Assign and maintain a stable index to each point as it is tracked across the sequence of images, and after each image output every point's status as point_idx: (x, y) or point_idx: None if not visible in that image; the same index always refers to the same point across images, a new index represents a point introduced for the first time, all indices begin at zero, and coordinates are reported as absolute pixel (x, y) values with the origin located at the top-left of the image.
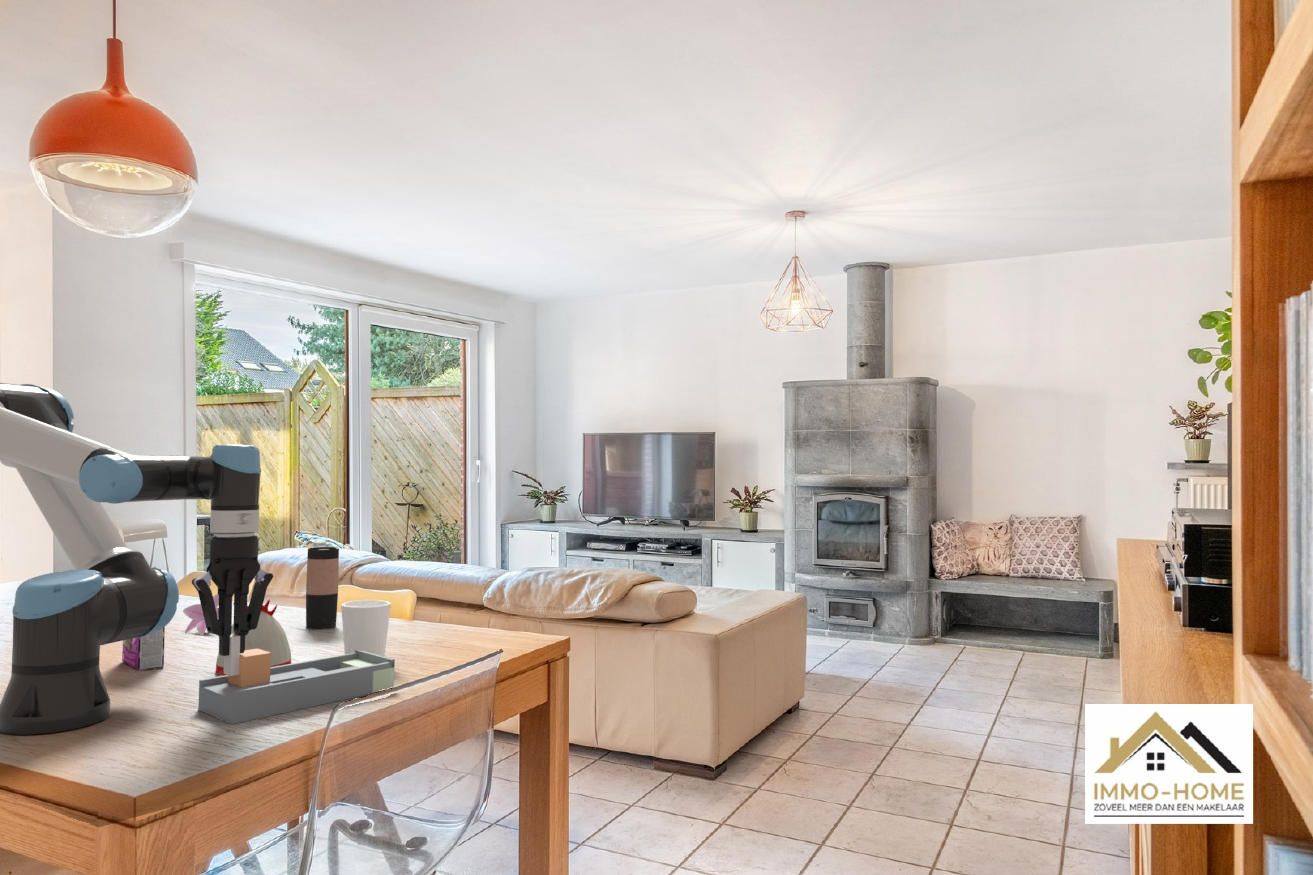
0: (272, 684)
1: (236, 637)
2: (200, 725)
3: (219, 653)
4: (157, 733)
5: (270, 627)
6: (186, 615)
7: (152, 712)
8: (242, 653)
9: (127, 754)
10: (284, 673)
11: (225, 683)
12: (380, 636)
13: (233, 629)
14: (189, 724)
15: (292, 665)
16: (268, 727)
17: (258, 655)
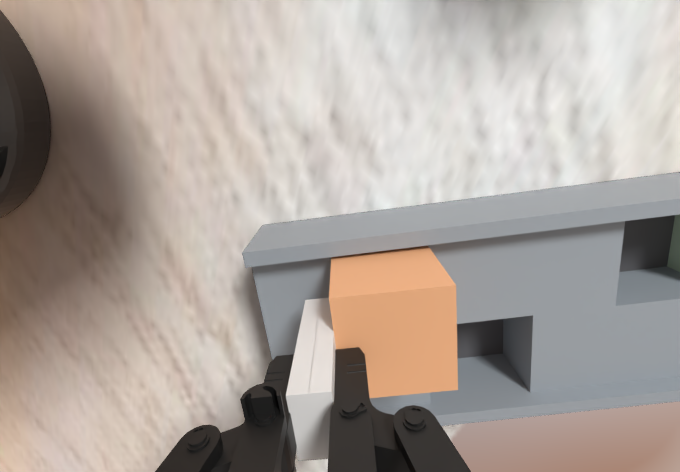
0: None
1: (323, 453)
2: (239, 354)
3: (272, 362)
4: (153, 356)
5: None
6: None
7: (157, 176)
8: (368, 341)
9: (97, 441)
10: (513, 252)
11: (320, 267)
12: None
13: (330, 414)
14: (220, 334)
15: (566, 226)
16: None
17: (407, 391)
